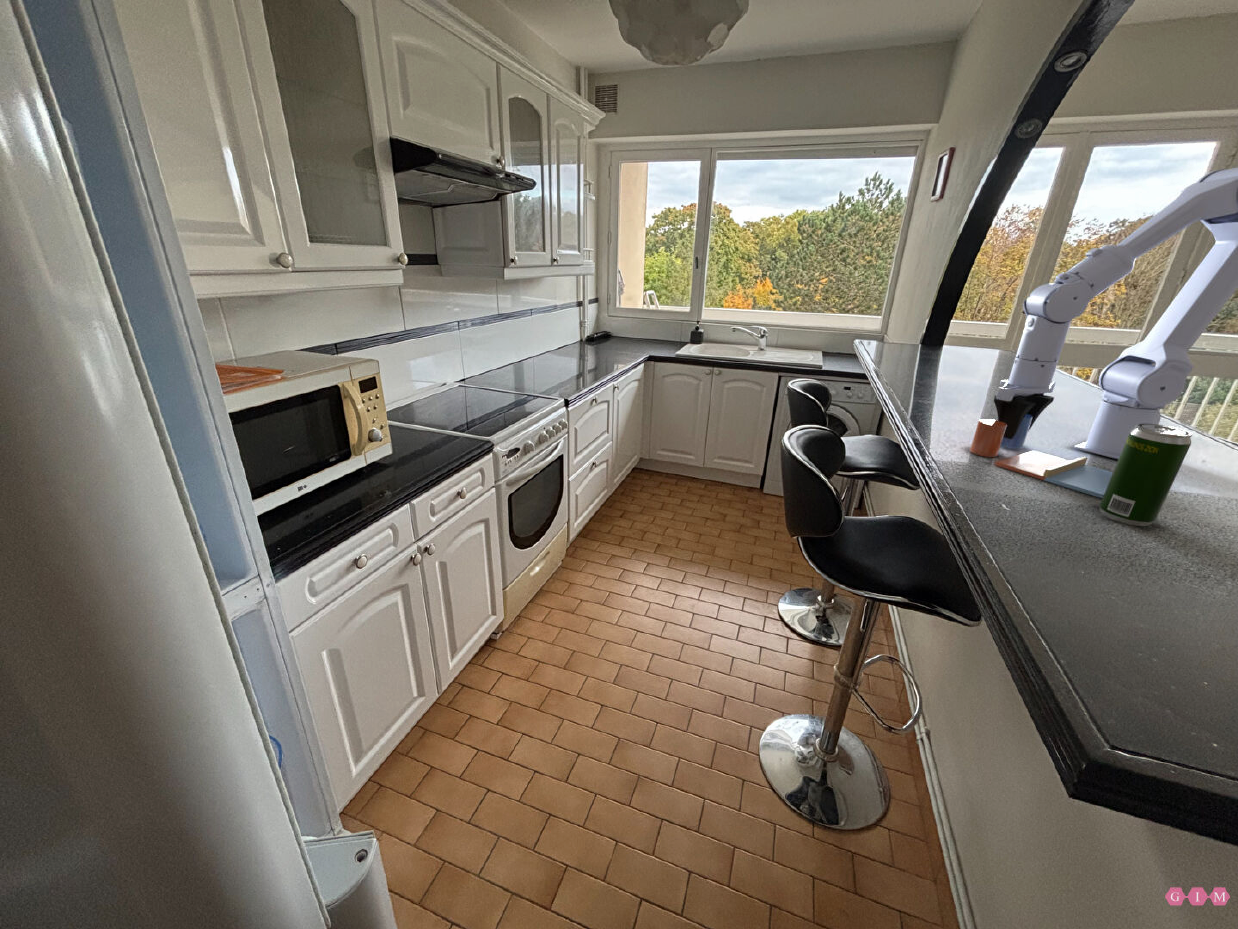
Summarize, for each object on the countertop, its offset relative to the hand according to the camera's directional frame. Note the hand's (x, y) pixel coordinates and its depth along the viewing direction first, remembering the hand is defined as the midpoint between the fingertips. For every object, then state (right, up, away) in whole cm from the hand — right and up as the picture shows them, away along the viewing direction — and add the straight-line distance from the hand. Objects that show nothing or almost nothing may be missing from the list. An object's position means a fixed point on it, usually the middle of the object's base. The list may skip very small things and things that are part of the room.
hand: (1012, 435), depth 90 cm
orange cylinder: (-7, -3, -3) cm, 8 cm away
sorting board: (-1, -7, -11) cm, 13 cm away
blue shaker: (0, -2, +1) cm, 2 cm away
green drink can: (-5, -12, -25) cm, 28 cm away
